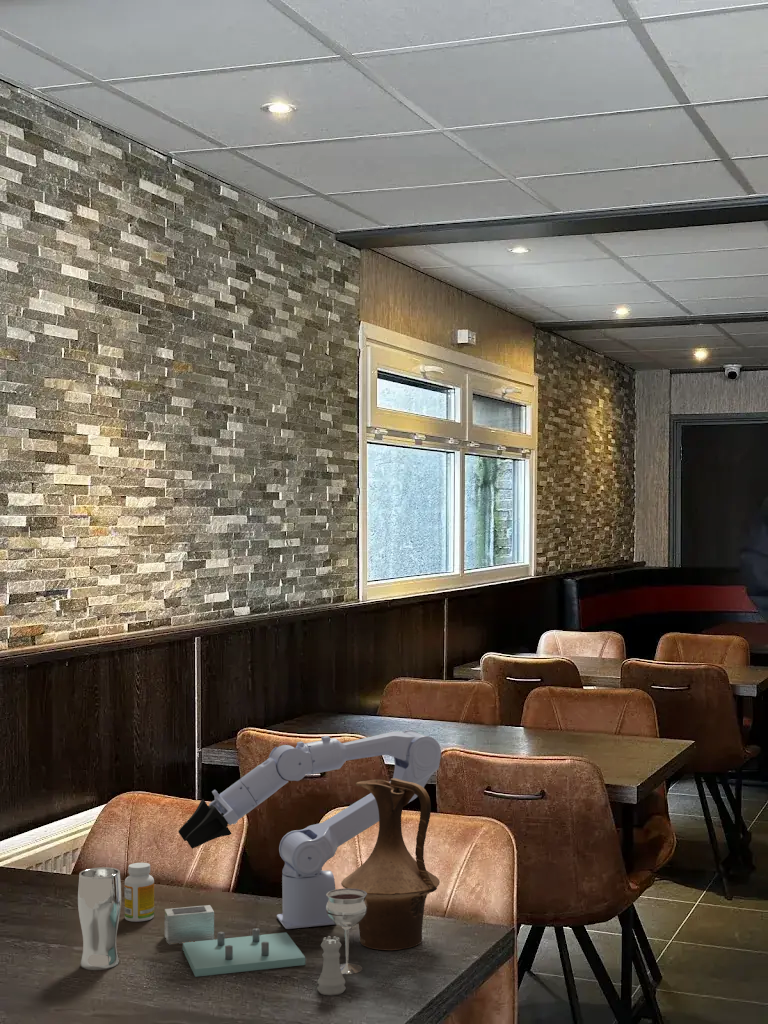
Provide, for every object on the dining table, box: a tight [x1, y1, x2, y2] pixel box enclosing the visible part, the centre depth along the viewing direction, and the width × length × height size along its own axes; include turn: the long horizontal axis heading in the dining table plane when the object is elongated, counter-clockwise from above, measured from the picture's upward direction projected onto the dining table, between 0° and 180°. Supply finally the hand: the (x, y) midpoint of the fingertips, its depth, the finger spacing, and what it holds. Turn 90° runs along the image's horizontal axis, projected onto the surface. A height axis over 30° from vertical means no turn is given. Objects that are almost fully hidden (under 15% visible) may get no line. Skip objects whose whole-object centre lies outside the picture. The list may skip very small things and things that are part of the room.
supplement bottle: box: [124, 862, 155, 923], centre depth 232 cm, size 5×5×10 cm
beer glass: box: [77, 866, 122, 971], centre depth 206 cm, size 7×7×15 cm
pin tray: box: [182, 927, 306, 978], centre depth 209 cm, size 18×14×3 cm
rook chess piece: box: [316, 935, 346, 997], centre depth 193 cm, size 4×4×8 cm
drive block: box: [164, 904, 215, 945], centre depth 219 cm, size 8×4×5 cm, turn 107°
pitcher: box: [340, 777, 441, 951], centre depth 217 cm, size 18×17×28 cm
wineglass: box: [326, 888, 368, 975], centre depth 203 cm, size 7×7×12 cm
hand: (184, 840), depth 221 cm, fingers open, 7 cm apart
